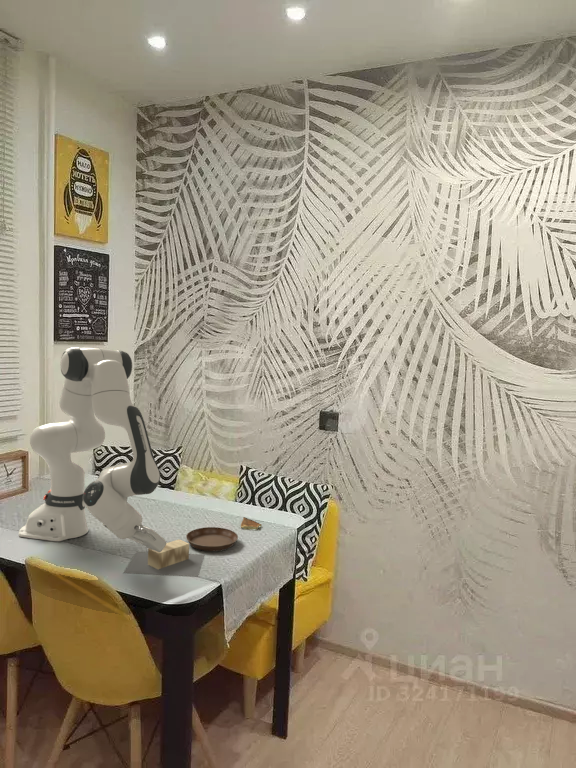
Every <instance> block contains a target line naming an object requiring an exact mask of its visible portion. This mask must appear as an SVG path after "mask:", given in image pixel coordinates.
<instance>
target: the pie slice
mask: <svg viewBox="0 0 576 768" xmlns="http://www.w3.org/2000/svg"><path fill="white" fill-rule="evenodd" d="M259 526H261V527H262V526H263V525H262V524H261V523H259V522H258V521H254V520H253V519H250V518H247V517H245V516H243V519H242V521H241V524H240V529H241V528H244V529H243V530H250V529H256V530H258V529H259V528H260V527H259ZM258 527H259V528H258Z"/></svg>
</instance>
